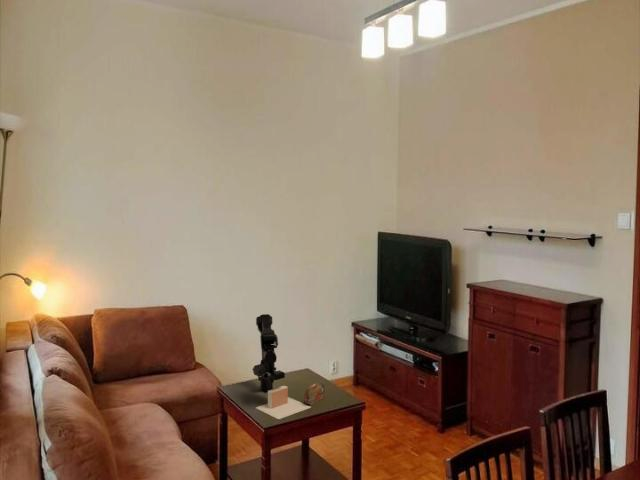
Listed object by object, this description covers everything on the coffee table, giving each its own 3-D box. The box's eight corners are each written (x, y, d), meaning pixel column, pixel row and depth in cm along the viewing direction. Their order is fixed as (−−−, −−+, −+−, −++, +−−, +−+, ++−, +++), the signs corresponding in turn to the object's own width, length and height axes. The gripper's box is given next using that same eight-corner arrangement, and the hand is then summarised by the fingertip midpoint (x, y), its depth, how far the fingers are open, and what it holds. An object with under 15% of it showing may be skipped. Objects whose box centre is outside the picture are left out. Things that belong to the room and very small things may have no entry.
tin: (308, 407, 256) (308, 390, 255) (303, 406, 257) (303, 389, 257) (324, 397, 269) (324, 381, 268) (319, 396, 270) (319, 379, 269)
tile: (268, 406, 255) (267, 390, 255) (284, 401, 262) (284, 385, 261) (271, 408, 253) (271, 392, 253) (288, 403, 260) (287, 387, 259)
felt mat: (255, 408, 255) (255, 407, 255) (287, 397, 268) (287, 396, 268) (278, 420, 241) (278, 419, 241) (311, 407, 255) (311, 407, 255)
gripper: (244, 356, 262) (244, 387, 264) (266, 365, 249) (267, 398, 250) (262, 352, 270) (262, 382, 271) (285, 360, 256) (285, 392, 257)
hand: (269, 388), depth 262 cm, fingers closed
